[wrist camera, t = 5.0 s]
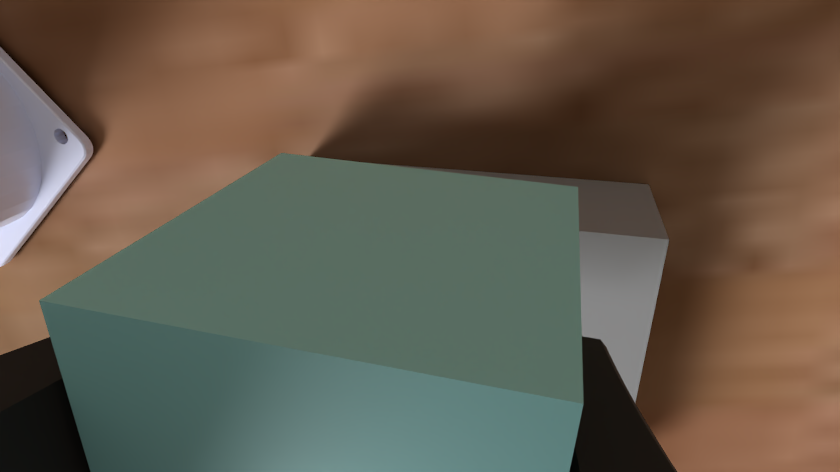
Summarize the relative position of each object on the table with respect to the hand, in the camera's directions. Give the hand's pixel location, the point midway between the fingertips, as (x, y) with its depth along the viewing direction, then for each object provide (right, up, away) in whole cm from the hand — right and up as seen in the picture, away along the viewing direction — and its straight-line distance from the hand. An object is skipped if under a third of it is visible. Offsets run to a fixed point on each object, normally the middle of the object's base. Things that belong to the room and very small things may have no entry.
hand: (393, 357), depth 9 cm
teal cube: (0, +1, +1) cm, 2 cm away
